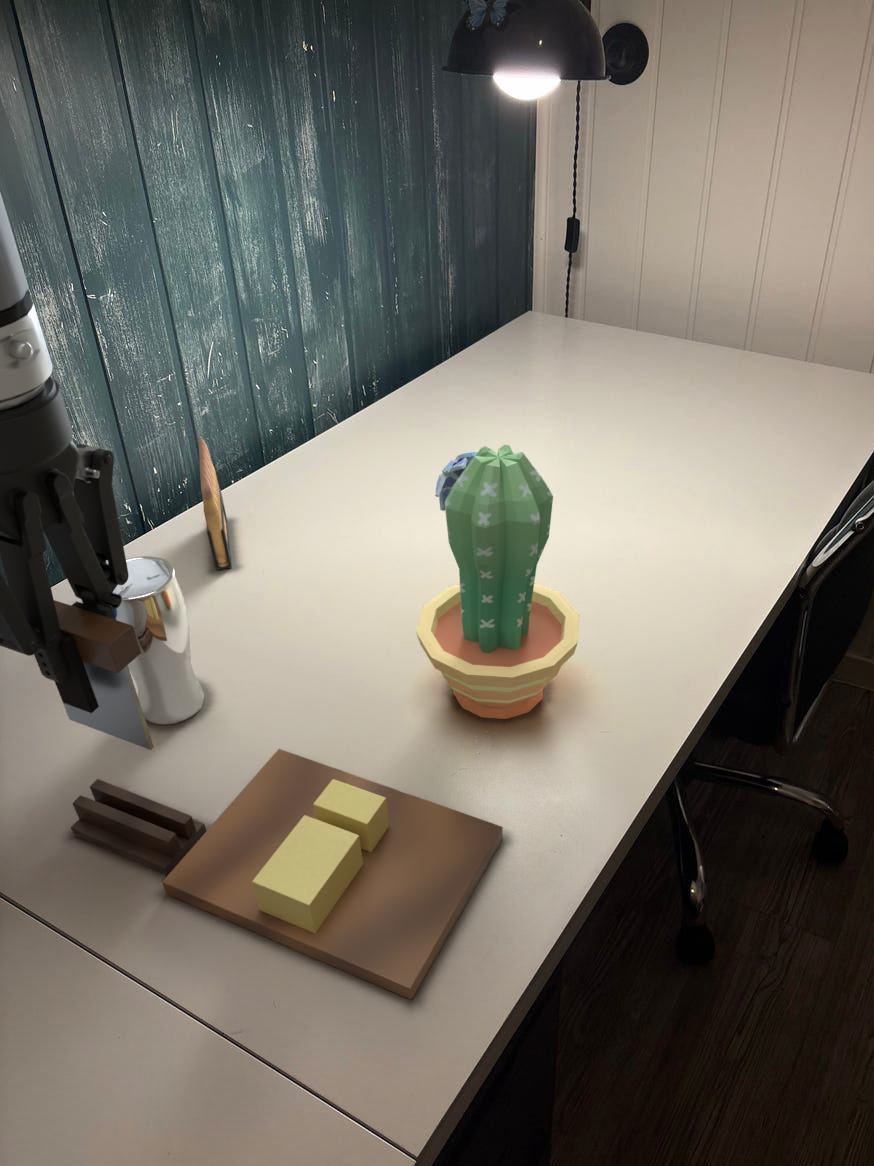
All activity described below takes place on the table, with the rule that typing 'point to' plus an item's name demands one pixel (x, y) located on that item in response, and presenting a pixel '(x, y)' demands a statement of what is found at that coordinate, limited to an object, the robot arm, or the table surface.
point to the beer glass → (159, 641)
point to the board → (377, 892)
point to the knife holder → (135, 826)
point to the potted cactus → (497, 588)
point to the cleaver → (107, 673)
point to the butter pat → (353, 812)
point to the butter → (308, 873)
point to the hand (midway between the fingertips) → (96, 691)
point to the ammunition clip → (214, 511)
